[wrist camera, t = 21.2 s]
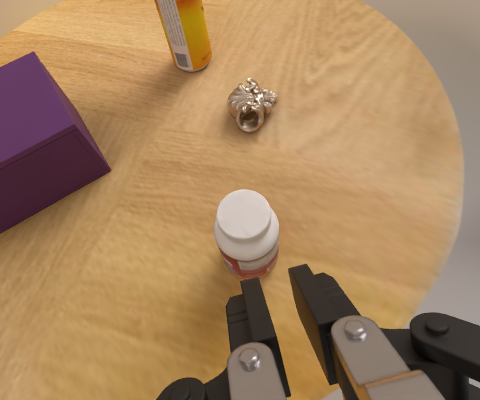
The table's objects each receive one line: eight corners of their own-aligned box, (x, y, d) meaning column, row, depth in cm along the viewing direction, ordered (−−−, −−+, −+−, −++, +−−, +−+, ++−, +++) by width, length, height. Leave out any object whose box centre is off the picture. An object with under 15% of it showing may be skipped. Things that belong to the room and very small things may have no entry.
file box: (-25, 161, 49) (-81, 120, 41) (76, 109, 52) (41, 62, 44) (-1, 233, 43) (-61, 202, 35) (111, 170, 46) (78, 128, 38)
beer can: (217, 49, 55) (199, -55, 42) (206, 76, 53) (183, -26, 39) (181, 45, 56) (153, -57, 43) (169, 72, 54) (135, -28, 41)
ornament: (281, 130, 47) (282, 112, 43) (231, 137, 47) (228, 119, 44) (273, 87, 50) (273, 67, 47) (227, 94, 51) (223, 74, 47)
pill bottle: (220, 234, 40) (203, 188, 31) (271, 224, 40) (270, 175, 31) (228, 286, 38) (212, 253, 28) (283, 275, 38) (287, 239, 28)
